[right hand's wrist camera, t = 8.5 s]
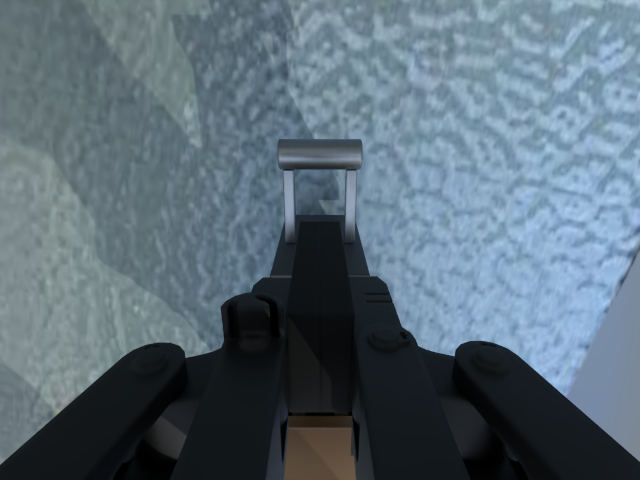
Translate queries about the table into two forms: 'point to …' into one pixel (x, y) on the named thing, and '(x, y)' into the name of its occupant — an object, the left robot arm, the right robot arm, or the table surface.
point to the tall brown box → (319, 448)
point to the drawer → (319, 157)
